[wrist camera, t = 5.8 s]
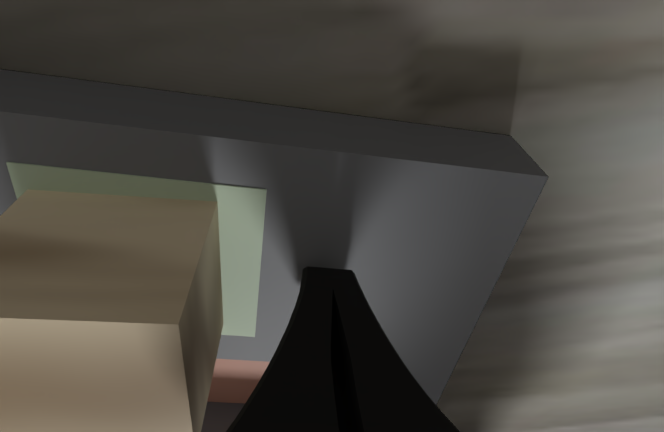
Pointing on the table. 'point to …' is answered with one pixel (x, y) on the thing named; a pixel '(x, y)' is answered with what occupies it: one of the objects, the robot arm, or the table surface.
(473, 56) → the table surface
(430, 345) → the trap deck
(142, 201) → the maple block
